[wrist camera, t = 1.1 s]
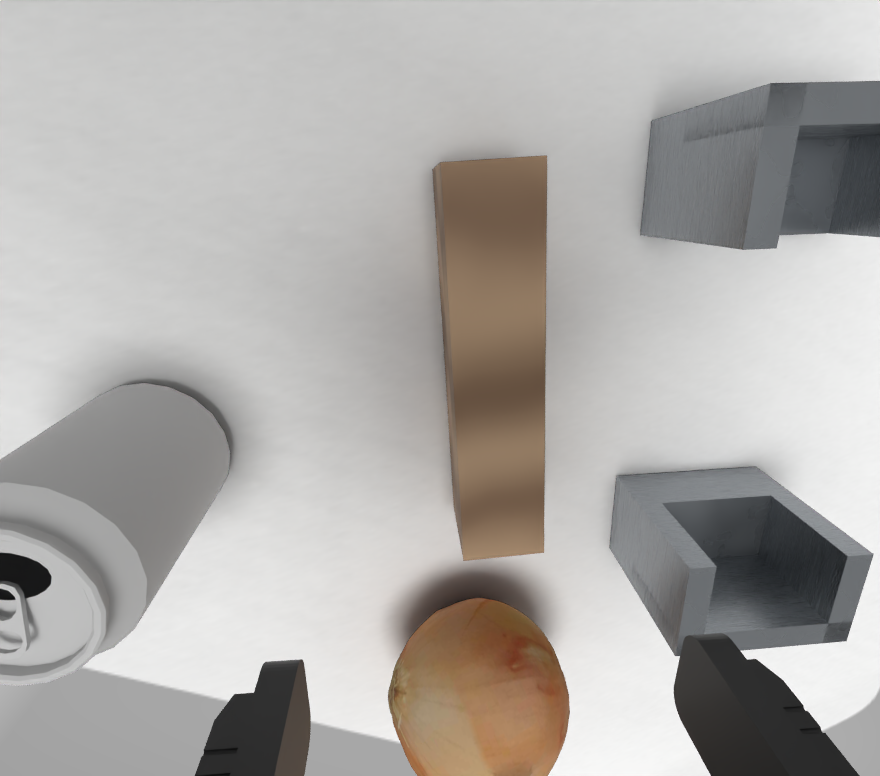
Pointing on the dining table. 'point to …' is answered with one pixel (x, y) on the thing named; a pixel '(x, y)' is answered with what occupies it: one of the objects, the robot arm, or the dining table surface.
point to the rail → (494, 348)
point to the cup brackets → (749, 489)
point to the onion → (479, 694)
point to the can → (99, 523)
